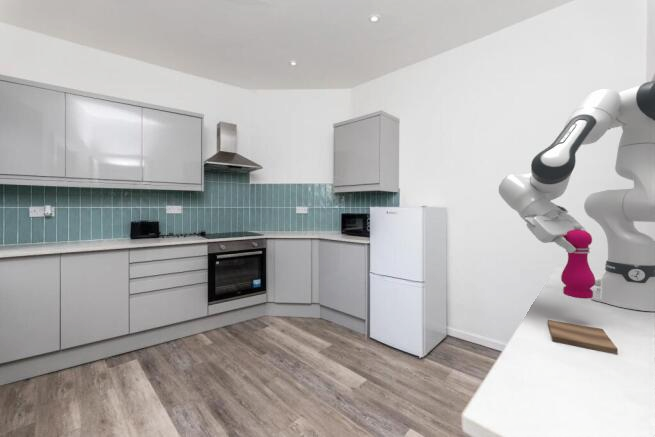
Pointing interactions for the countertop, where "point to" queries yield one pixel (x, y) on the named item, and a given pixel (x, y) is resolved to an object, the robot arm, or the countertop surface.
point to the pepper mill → (578, 265)
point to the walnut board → (581, 336)
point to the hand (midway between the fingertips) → (580, 250)
